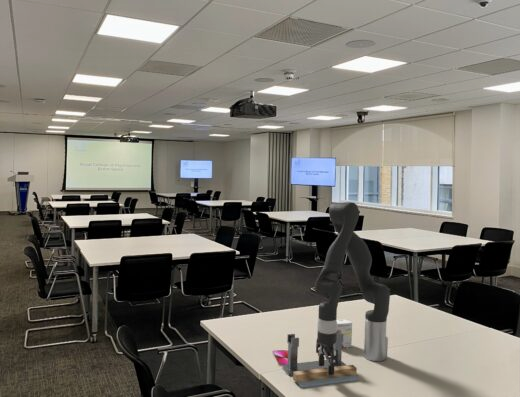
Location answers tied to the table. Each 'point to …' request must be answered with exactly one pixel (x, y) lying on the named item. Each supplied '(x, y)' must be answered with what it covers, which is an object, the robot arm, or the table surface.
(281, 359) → the smartphone
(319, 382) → the mat
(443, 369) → the table surface
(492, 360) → the table surface
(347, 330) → the ink box
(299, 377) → the rail
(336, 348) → the rack
